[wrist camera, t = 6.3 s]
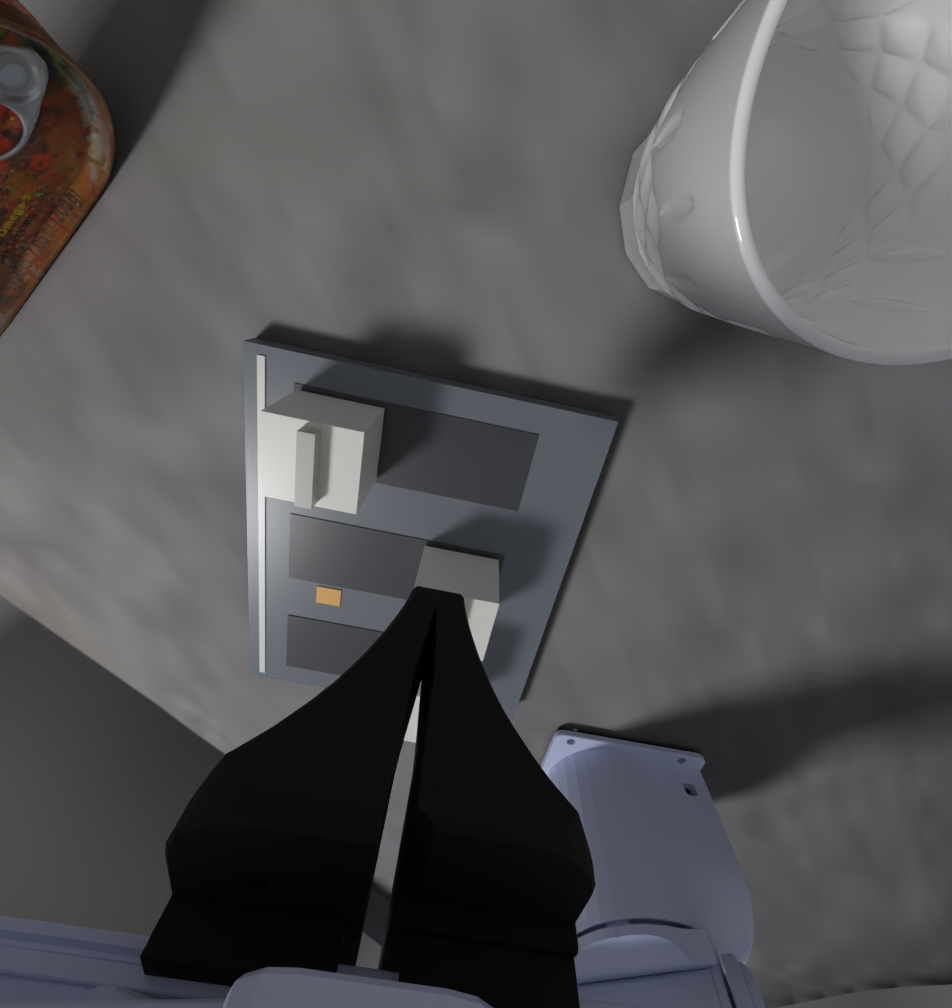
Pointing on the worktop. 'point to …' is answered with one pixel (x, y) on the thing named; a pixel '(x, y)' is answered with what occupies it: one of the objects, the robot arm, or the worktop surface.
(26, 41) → the tin
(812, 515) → the worktop surface
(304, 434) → the tab
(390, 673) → the robot arm
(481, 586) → the tab
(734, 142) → the white cup
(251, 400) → the switch bank
